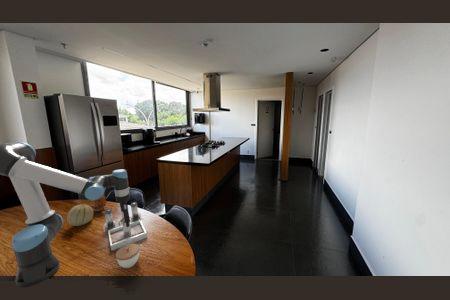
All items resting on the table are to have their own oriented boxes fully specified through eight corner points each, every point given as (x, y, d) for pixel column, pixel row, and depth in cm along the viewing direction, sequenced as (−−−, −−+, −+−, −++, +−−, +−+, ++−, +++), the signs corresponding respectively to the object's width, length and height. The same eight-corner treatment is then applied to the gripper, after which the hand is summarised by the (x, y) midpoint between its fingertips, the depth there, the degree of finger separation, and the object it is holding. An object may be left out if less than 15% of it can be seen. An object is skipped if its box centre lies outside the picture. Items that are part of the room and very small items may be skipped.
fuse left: (114, 226, 125) (111, 210, 123) (107, 228, 123) (104, 212, 120) (113, 223, 128) (111, 208, 126) (106, 225, 126) (104, 209, 124)
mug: (90, 210, 149) (88, 193, 146) (101, 206, 156) (98, 189, 154) (100, 214, 143) (98, 197, 140) (111, 210, 150) (109, 193, 147)
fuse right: (139, 218, 134) (137, 203, 132) (133, 220, 132) (131, 205, 130) (137, 216, 138) (136, 201, 135) (132, 218, 135) (130, 203, 133)
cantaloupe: (63, 228, 125) (59, 209, 123) (84, 217, 139) (81, 199, 137) (80, 231, 122) (76, 211, 119) (99, 219, 136) (96, 201, 133)
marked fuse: (131, 235, 116) (129, 218, 114) (124, 238, 114) (122, 220, 112) (130, 232, 120) (128, 215, 117) (123, 234, 117) (121, 217, 115)
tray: (147, 237, 116) (146, 232, 115) (111, 251, 104) (110, 245, 104) (140, 224, 130) (140, 220, 129) (108, 235, 118) (107, 230, 118)
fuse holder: (143, 221, 134) (142, 216, 133) (104, 234, 120) (103, 228, 119) (140, 215, 141) (139, 210, 141) (103, 226, 127) (102, 221, 127)
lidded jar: (143, 255, 101) (142, 240, 99) (135, 271, 90) (133, 255, 89) (124, 256, 101) (122, 241, 99) (113, 272, 90) (110, 256, 88)
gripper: (133, 200, 104) (136, 233, 108) (126, 186, 124) (129, 215, 128) (118, 203, 99) (122, 238, 104) (113, 189, 119) (117, 218, 123)
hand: (126, 225), depth 116 cm, fingers open, 13 cm apart
